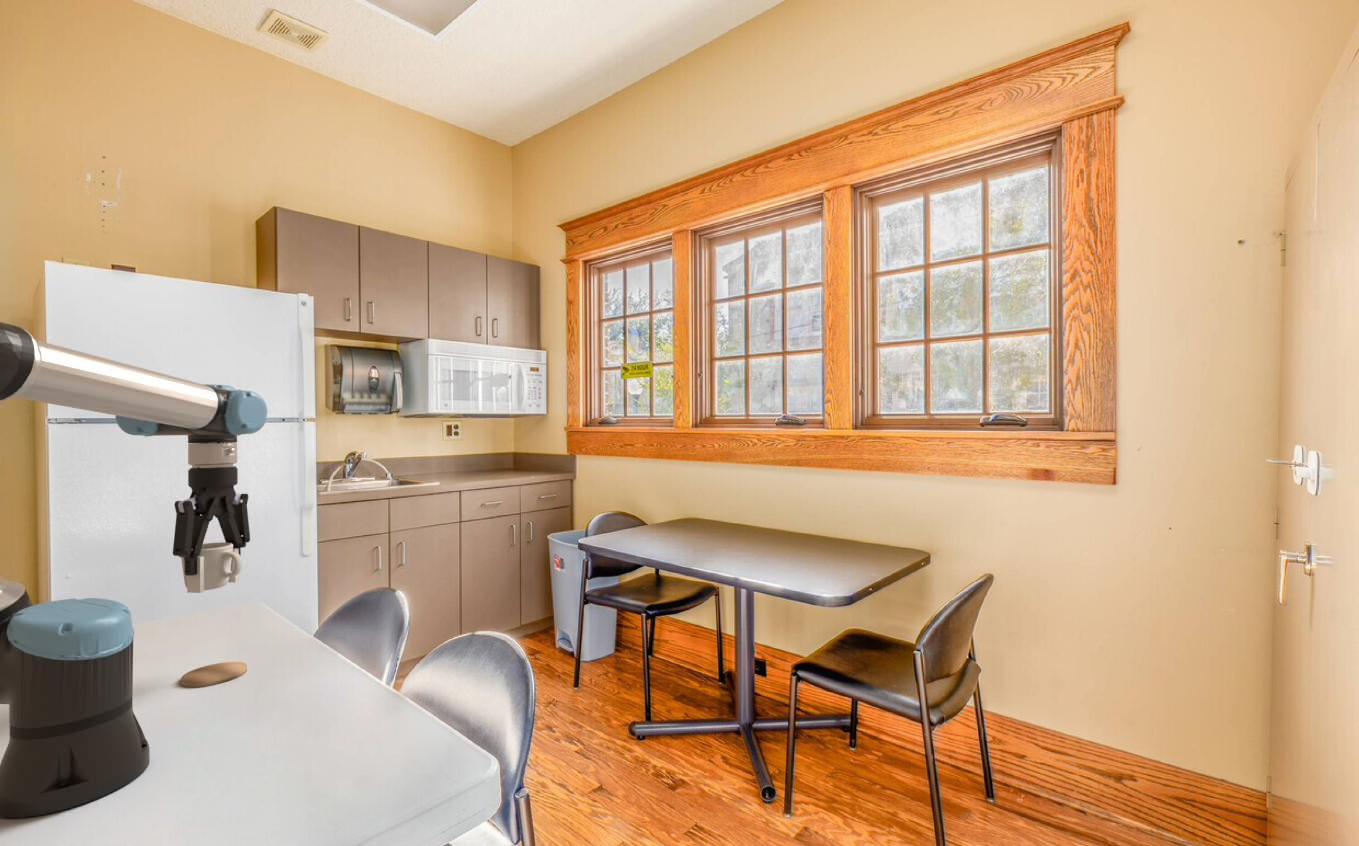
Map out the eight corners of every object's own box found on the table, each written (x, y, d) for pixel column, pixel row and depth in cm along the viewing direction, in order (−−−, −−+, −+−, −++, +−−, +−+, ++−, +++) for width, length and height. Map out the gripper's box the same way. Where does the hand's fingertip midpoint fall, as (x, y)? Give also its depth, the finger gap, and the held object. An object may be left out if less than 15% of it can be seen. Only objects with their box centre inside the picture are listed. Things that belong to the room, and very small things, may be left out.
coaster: (214, 688, 111) (214, 683, 111) (166, 685, 113) (166, 681, 113) (259, 666, 121) (259, 662, 121) (214, 664, 123) (214, 660, 123)
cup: (256, 583, 121) (256, 542, 121) (222, 594, 113) (222, 550, 113) (206, 582, 122) (206, 541, 122) (169, 593, 114) (168, 549, 114)
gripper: (181, 469, 107) (182, 601, 107) (272, 462, 127) (272, 574, 126) (144, 469, 108) (144, 600, 108) (239, 463, 128) (240, 574, 128)
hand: (213, 586), depth 117 cm, fingers closed on cup, 7 cm apart
